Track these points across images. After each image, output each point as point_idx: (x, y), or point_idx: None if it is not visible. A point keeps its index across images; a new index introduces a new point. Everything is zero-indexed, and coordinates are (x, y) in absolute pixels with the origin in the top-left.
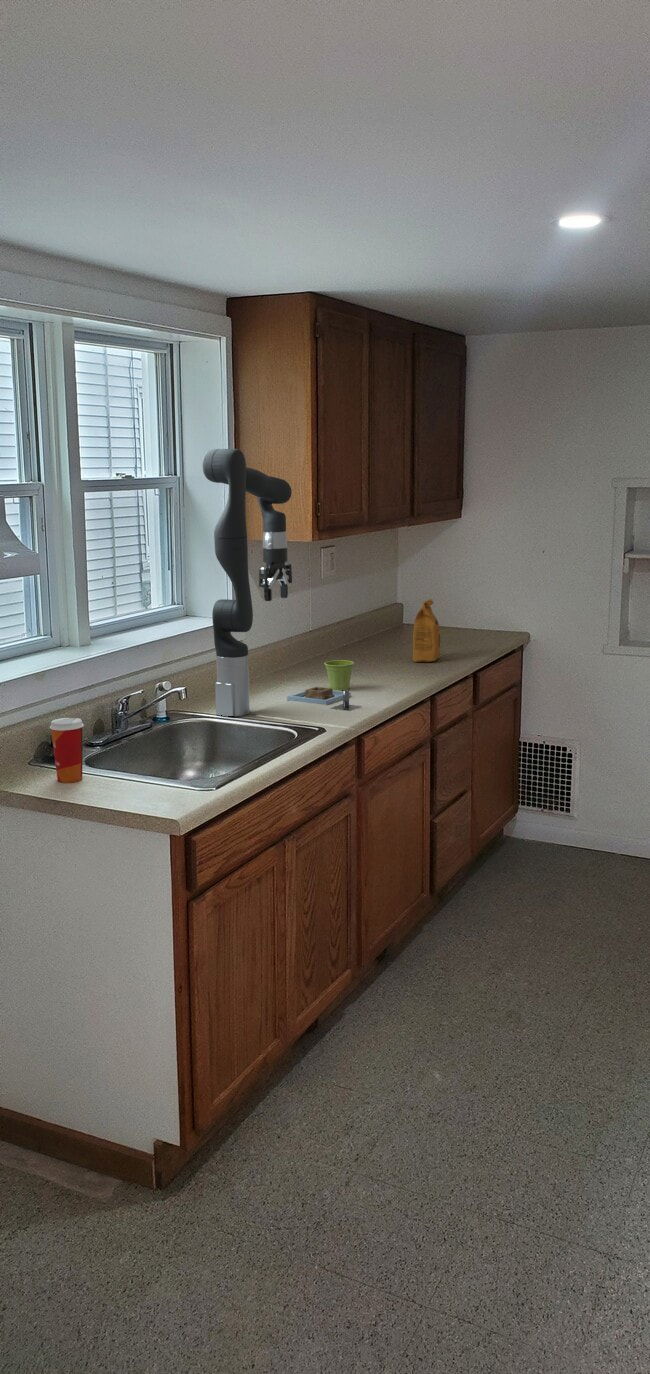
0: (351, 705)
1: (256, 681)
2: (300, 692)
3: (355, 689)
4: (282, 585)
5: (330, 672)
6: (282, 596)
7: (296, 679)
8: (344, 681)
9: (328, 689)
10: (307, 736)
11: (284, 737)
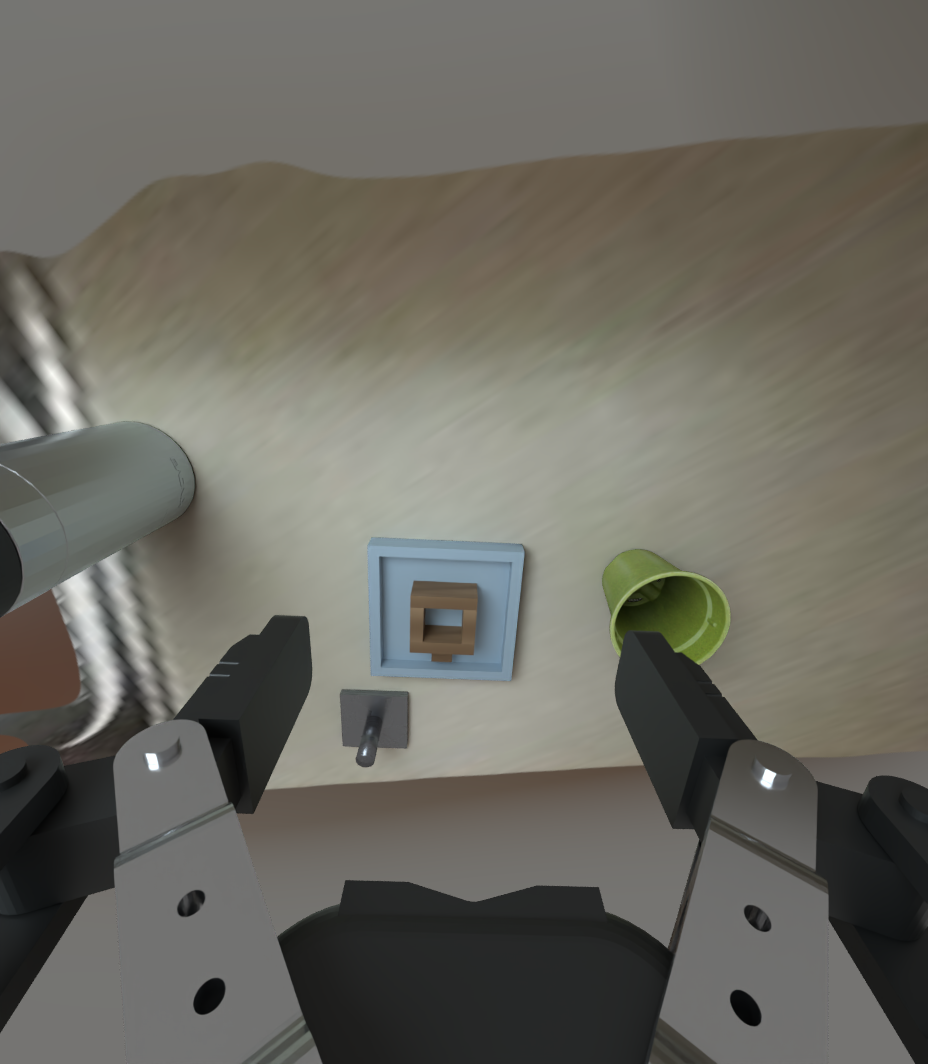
0: (401, 723)
1: (674, 189)
2: (440, 553)
3: None
4: (705, 775)
5: (615, 597)
6: (628, 657)
7: (764, 342)
8: (620, 620)
9: (452, 652)
10: None
11: (45, 727)
